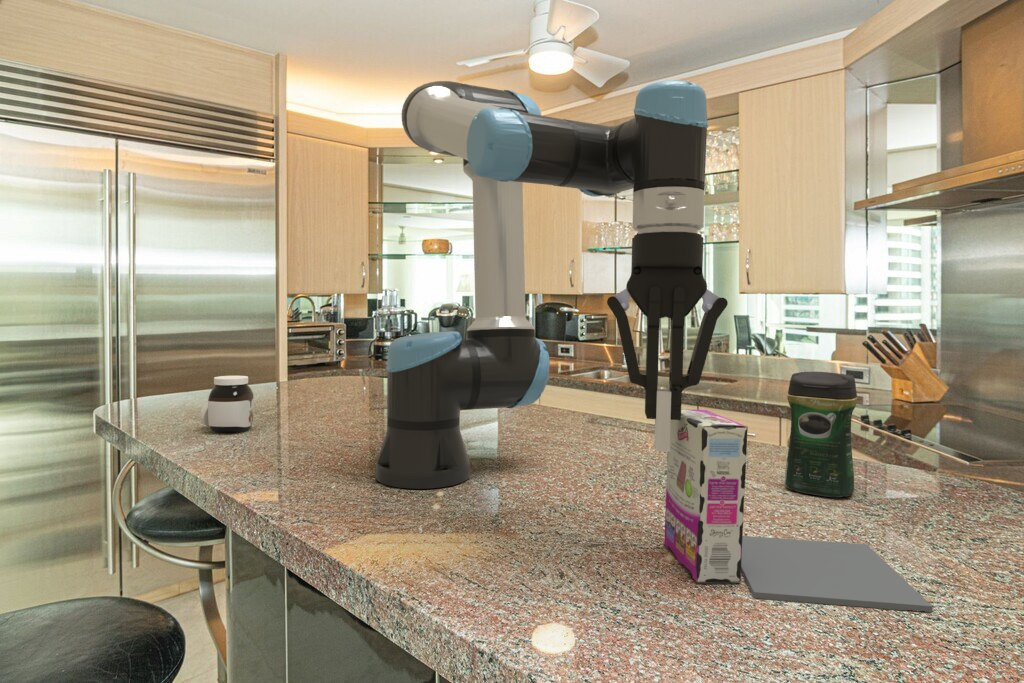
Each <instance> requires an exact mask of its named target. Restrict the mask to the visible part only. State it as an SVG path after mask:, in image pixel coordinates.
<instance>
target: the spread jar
mask: <svg viewBox="0 0 1024 683" xmlns="http://www.w3.org/2000/svg"><path fill="white" fill-rule="evenodd" d="M213 384H214V386H213V388H212V389H211V391H210V393H209V394H208V399H207V400H208V401H207V402H205V403H204V405H203V406H202V408H201V410H200V414H199V418H200V422H201V423H202V424H203V425H205V426H207V427H209V429H210V431H212V432H213V433H215V434H219V435H220V434H221V435H233V434H234V435H235V434H242V433H246V432H248V431H250V429H251V428H252V425H253V423H254V419H255V418H254V417H255V415H254V414H255V403H254V402H255V399H254V398H255V397H254V392H253V389H252V388H251V386H249V376H248V375H220V376H215V377H213Z"/></svg>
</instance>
